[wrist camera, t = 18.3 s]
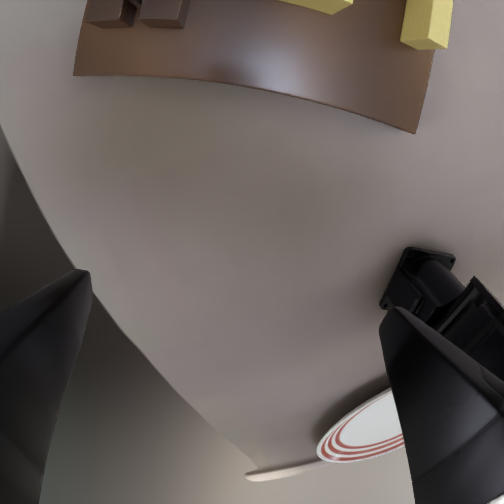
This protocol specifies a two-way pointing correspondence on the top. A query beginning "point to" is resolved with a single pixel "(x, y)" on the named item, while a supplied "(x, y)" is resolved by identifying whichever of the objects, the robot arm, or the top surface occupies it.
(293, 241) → the top surface
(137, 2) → the dark grey block
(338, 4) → the butter stick
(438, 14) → the butter slice
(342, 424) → the dinner plate
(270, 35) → the cutting board
